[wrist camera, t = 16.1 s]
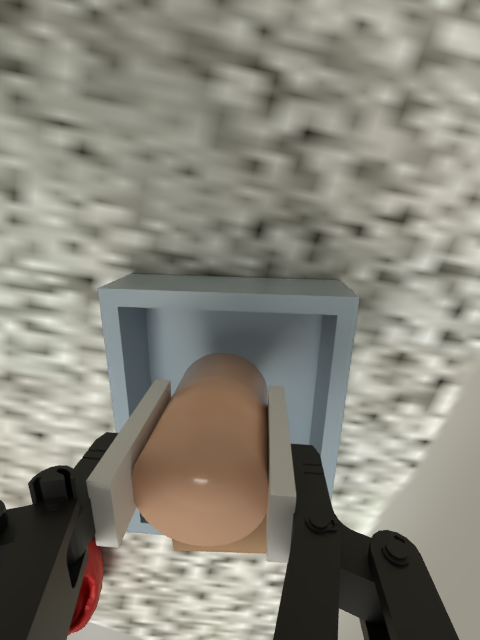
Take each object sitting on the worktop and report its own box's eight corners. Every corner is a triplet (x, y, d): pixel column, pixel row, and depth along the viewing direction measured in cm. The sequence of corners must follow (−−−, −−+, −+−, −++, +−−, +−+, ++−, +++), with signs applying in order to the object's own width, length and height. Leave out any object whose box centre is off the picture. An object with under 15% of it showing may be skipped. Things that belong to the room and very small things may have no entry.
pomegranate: (8, 556, 32) (-91, 684, 23) (32, 491, 29) (-72, 611, 20) (97, 596, 33) (33, 736, 24) (131, 537, 30) (70, 673, 21)
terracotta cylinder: (179, 350, 17) (126, 427, 11) (270, 355, 17) (274, 438, 10) (181, 428, 19) (135, 539, 12) (265, 434, 19) (265, 552, 12)
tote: (131, 273, 22) (97, 288, 17) (339, 280, 21) (359, 297, 16) (150, 481, 27) (128, 531, 23) (314, 494, 27) (324, 549, 22)
